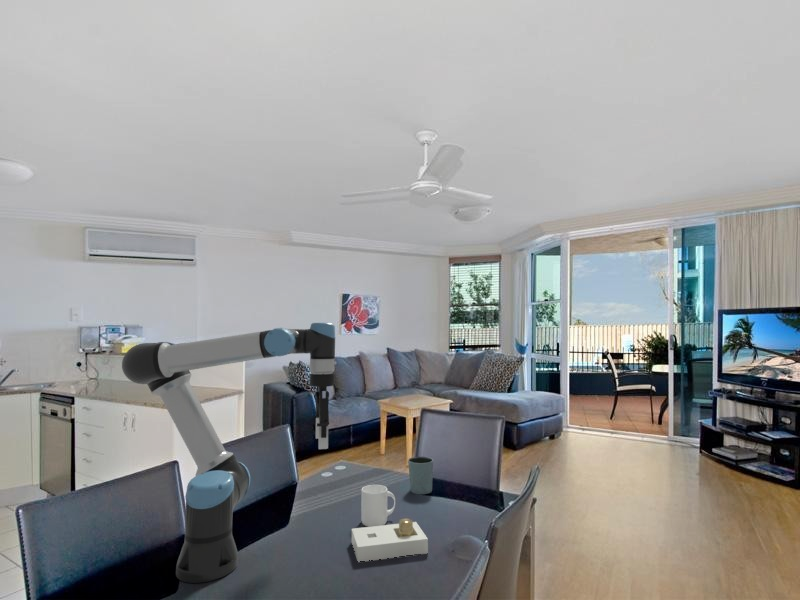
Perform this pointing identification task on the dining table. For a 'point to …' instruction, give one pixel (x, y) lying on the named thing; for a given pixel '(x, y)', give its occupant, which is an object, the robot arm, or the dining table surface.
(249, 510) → the dining table surface
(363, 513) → the mug
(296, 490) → the dining table surface
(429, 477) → the grey-green cup
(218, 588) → the dining table surface
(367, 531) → the block
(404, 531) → the cylinder
